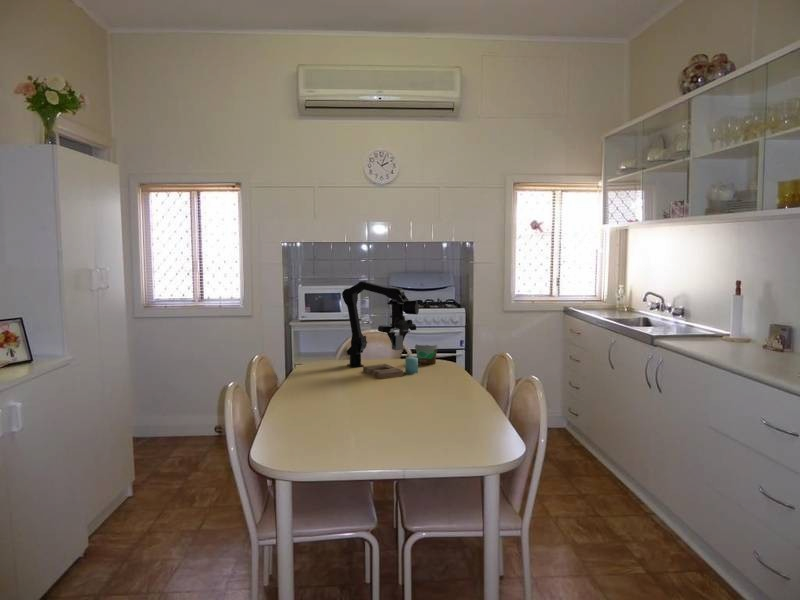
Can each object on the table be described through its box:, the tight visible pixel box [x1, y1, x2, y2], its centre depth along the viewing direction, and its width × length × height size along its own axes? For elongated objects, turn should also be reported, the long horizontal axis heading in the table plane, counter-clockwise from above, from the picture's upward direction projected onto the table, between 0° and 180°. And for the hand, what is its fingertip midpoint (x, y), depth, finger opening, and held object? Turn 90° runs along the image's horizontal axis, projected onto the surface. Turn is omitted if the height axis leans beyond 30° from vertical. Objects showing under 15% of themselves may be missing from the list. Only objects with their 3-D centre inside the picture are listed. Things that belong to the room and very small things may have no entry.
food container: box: [414, 343, 439, 366], centre depth 289 cm, size 12×6×10 cm, turn 73°
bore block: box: [362, 363, 404, 380], centre depth 268 cm, size 18×12×2 cm, turn 30°
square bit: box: [391, 334, 404, 351], centre depth 277 cm, size 4×4×7 cm
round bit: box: [404, 356, 419, 375], centre depth 270 cm, size 6×6×7 cm
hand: (397, 345), depth 277 cm, fingers closed on square bit, 4 cm apart
